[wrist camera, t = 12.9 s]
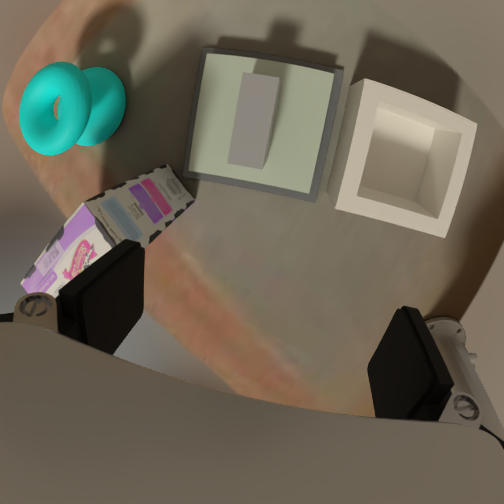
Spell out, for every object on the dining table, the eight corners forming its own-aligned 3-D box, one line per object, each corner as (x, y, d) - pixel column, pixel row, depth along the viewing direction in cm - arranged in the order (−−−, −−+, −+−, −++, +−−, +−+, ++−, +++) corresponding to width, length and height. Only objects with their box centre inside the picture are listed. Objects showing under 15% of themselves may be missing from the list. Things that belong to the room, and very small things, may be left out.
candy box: (167, 160, 34) (83, 198, 19) (197, 200, 35) (132, 264, 20) (97, 224, 38) (16, 282, 23) (123, 257, 40) (53, 329, 25)
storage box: (445, 120, 27) (477, 124, 21) (420, 216, 32) (444, 238, 26) (349, 86, 28) (364, 78, 21) (326, 190, 33) (335, 208, 27)
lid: (331, 76, 27) (342, 65, 21) (307, 188, 33) (312, 207, 26) (212, 57, 28) (192, 42, 21) (194, 167, 33) (171, 180, 26)
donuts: (12, 155, 25) (20, 66, 20) (64, 141, 34) (73, 69, 29) (75, 161, 24) (87, 56, 20) (124, 147, 33) (136, 67, 29)
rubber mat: (342, 71, 27) (343, 70, 27) (314, 201, 34) (314, 202, 33) (204, 48, 28) (202, 47, 27) (183, 175, 34) (182, 176, 34)
